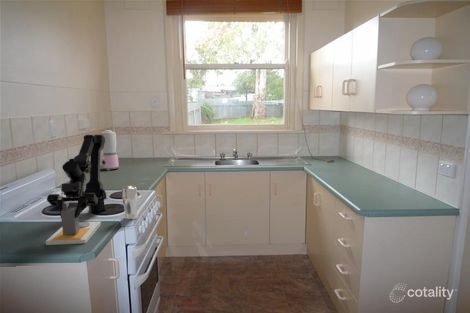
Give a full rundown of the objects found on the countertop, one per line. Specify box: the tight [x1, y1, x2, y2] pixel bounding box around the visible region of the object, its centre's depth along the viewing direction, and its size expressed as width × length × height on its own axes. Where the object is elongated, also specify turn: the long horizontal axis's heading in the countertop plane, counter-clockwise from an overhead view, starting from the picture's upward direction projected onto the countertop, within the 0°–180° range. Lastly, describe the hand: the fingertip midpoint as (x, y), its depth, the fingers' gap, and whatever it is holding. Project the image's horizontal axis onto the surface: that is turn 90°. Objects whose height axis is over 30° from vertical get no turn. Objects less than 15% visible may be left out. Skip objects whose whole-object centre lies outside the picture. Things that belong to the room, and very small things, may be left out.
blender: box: [100, 129, 120, 172], centre depth 269 cm, size 16×12×32 cm
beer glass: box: [121, 185, 138, 221], centre depth 159 cm, size 7×7×15 cm
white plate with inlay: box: [45, 221, 102, 246], centre depth 140 cm, size 20×15×2 cm
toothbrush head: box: [61, 192, 70, 207], centre depth 185 cm, size 5×7×25 cm
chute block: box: [60, 206, 80, 235], centre depth 135 cm, size 4×5×10 cm
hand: (68, 218), depth 134 cm, fingers closed on chute block, 5 cm apart
